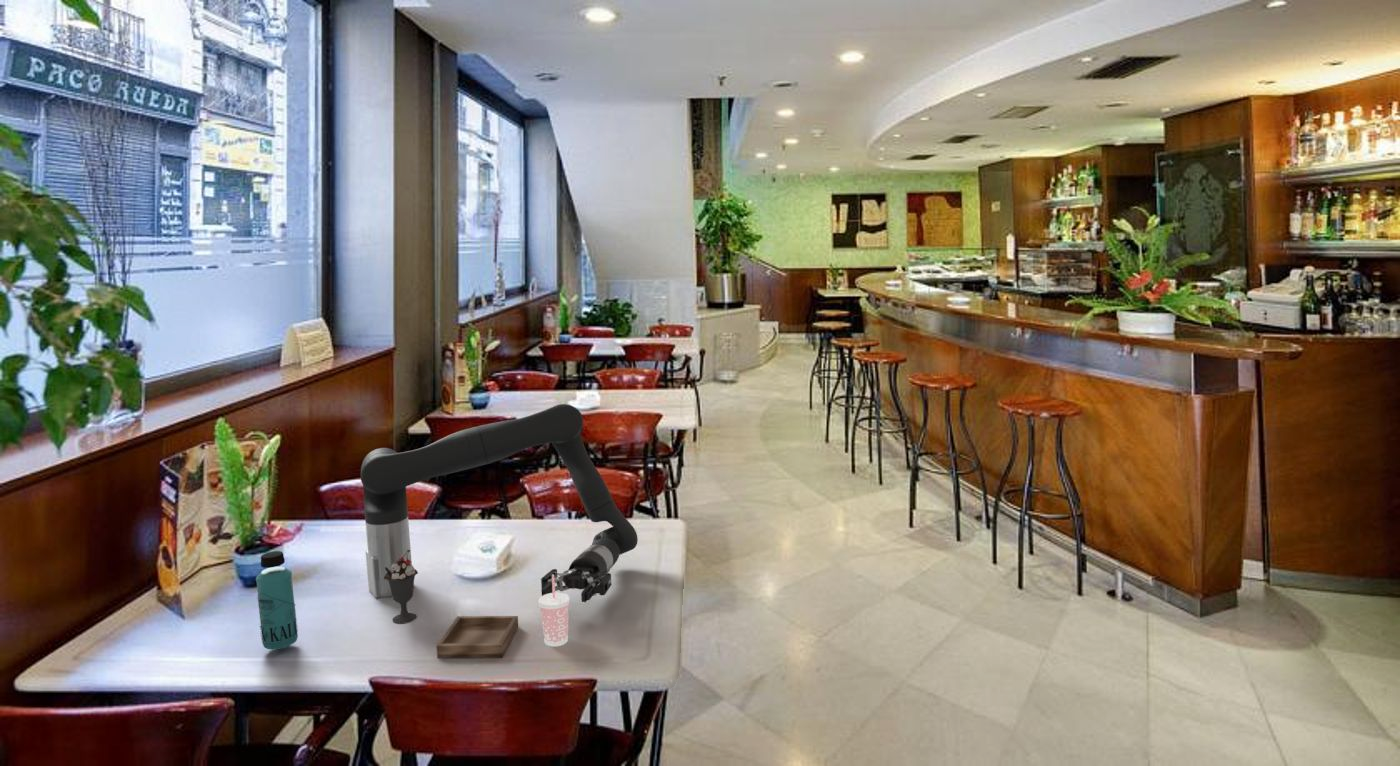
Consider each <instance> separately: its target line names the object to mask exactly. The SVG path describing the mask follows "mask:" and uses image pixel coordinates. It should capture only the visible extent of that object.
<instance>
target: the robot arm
mask: <svg viewBox="0 0 1400 766" xmlns="http://www.w3.org/2000/svg"><path fill="white" fill-rule="evenodd" d="M583 425H584V417H583V415H582V413H581V411H580V410H579V409H578V408H577V407H576V406H574V405H571V404H567V403H559V404H557V405H553V406H551V407H549V408H546V409H544V410H542V411H540V412H539V411H538V412H535V413H533V414H530V415H528V416H527V415H526V416H524V417H520V418H515V419H508V420H503V421H497V422H492V423H491V422H490V423H486V424H482V425H478V426H473V427H470V428H469V427H468V428H466V429H463V430H462V429H461V430H458V431H455V432H454V433H451V434H449V435H447V436H445V437H443V438H440V439H437V440H436V441H434V442H433V443H430V444H428V445H426V446H423V447H420V448H417V449H413V450H408V451H404V452H397V451H395V449H392V448H389V447H380V448H376V449H374V450H371V451H370V452H368V453H367V454H366V456H365V457H364V459H363V461H362V463H361V466H360V467H361V468H360V481H361V484H362V489H363V490H362V491H363V507H364V508H363V509H364V510H363V511H364V521H365V532H366V543H367V544H366V545H367V550H365V560H366V561H365V562H366V573H367V582H368V591H369V592H370V594H372V595H373V596H374V598H377V599H378V598H382V597H383V598H384V597H386V598H387V597H392V593H391V588H390V584H389V581H388V580H386V579H384V576H385V574H386V573H388V572H387V571H386V569H385V567H387V568H388V569H389V570H390V571H391V567H392V565H393V564H394V563H395V562H397V561H398V560H399V558H402V557H403V556H404V555H405V554H406V555H405V556H404V557H403V558H404V561H406V560H407V557H408V560H410V561H411V563H410V565H412V566H413V563H412V551H411V550H412V549H411V548H412V547H411V539H410V538H411V537H410V536H411V535H410V525H409V524H410V521H409V512H408V509H409V508H408V496H407V487H409V486H412V485H414V484H416V483H419V482H422V481H425V480H429V479H431V478H435V477H439V476H441V477H442V476H445V475H450V474H453V473H457V472H461V471H465V470H469V469H473V468H474V469H475V468H478V467H481V466H485V465H489V464H492V463H495V462H498V461H501V460H503V459H506V458H508V457H510V456H513V455H515V454H517V453H519V452H522V451H523V450H526V449H529V448H533V447H536V446H541V445H547V444H552V445H553V447H554V449H555V450H556V452H557V454H558V455H559V457H560V458H561V461H562V462H563V463H564V465H565V467H566V470H567V471H568V473H569V476H570V478H571V480H572V482H573V484H574V488H575V489H576V492H577V493H578V496H579V498H580V500H581V503H582V505H583V507H584V510H585V512H586V515H587V516H588V518H589V519H590V521H591V522H592V523H600V522H607V523H609V524H610V525H611V527H609V528H606V529H604V530H602V531H600V532H598V533H596V535H595V536H594V538H593V539H592V544H591V545H590V546H589V547H587V548H585V549H584V550H583V551H582V552H580V554H578V556H577V557H576V558H575V559H573V560H572V562H571V563H570V565H569V567H568V569H567V570H565V571H563V572H558V569H556V568H553V569H551V570H550V571H548V572H547V573H546V574H545V575H543V576H542V577H541V578H540V581H541V582H540V583H541V584H540V585H541V589H540V590H541V596H543V595H545V594H549V593H553V591H552V574H554V582H555V584H556V586H555V592H557V591H559V592H564V591H567V590H574V589H576V590H582V591H581V594H580V595H581V597H580V598H581V603H586V602H587V601H589V600H591V598H592V597H594V596H596V595H597V594H599V596H605V595H606V594H607V593H608V591H609V589H610V587H611V586H612V573H610V570H611V569H612V568H613V567H614V565H615V564H616V563H617V562H618V560H619V557H620V556H621V555H623V554H625V553H628V552H631V551H632V550H634V549H635V548H636V547H637V545H638V540H639V539H638V538H639V537H638V534H637V531H636V529H635V528H634V526H633V525H632V524H631V523H630V522H629V520H628V519H627V518H626V517H625V515H624V514H623V513H622V512H621V510H620V509H619V508H618V507H617V505H616V504H615V502H614V499H613V496H612V494H611V493H610V491H609V488H608V486H607V484H606V483H605V480H604V479H603V476H602V475H601V474H600V473H599V471H598V469H597V467H596V466H595V465H594V463H593V461H592V460H591V458H590V456H589V453H588V452H587V449H586V446H585V445H584V442H583V438H582V434H581V432H582V430H583ZM407 550H410V552H409V553H408V552H407ZM406 552H407V553H406ZM407 554H408V556H407Z"/></svg>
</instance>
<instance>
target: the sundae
mask: <svg viewBox="0 0 1400 766" xmlns="http://www.w3.org/2000/svg"><path fill="white" fill-rule="evenodd" d="M407 552H408V553H409V552H410V550H407ZM407 552H406V553H407ZM405 555H406V554H405ZM405 555H404V556H405ZM404 556H403V557H404ZM407 556H408V554H407ZM403 557H402V558H399V560H398V561H397V562H395V563H394V564H393V565H392V567H391V571H390V570H389V569H388V568H387V567H385V569H386V571H387V572H388V573H386V574H385V576H384V579H386V580H388V581H389V584H390V588H391V593H392V596H391V597H392V599H393V601H395V603H397V604H399V605H400V613H398V614H397V615H395V616H394V617H392V620H391V621H392V622H393V623H395V624H407V623H410V622H413V621H415V620H416V619H417V617H418V616H417V614H416V613H415V612H414V613H413V612H409V610H408V606H407V604H408V602H409V601H411V599H412V598H413V596H414V590H415V589H414V585H415V584H414V583H415V578H416V577H415V576H416V575H418V573H419V572H418V571H417V569H416V568H415V567H414V565H413V564H412V565H410V563H411V561H410V560H408V557H407V560H406V561H404V558H403Z"/></svg>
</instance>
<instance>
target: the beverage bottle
mask: <svg viewBox="0 0 1400 766" xmlns="http://www.w3.org/2000/svg"><path fill="white" fill-rule="evenodd" d="M283 564H285V556H284V552H283V551H279V550H275V551H267V552H265V553H263V554H261V556H260V566H261V568H263V570H262V571H260V573H258V575H257V576H256V577H255V581H256V588H257V603H258V613H259V616H258V617H259V621H260V622H259V624H260V625H259V628H260V633H261V634H260V638H261V642H262V643H261V644H262V645H263V648H264V649H267V650H279V649H284V648H287V647H289V646H292V645H293V644H295V643H296V642H297V641H298V637H299V634H298V629H299V628H298V623H297V620H298V619H297V614H296V613H297V612H296V603H295V597H294V586H293V572H292V571H291V570H290V569H288V568H286V567H285V566H281V565H283ZM264 568H265V569H264Z"/></svg>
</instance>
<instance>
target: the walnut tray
mask: <svg viewBox="0 0 1400 766" xmlns="http://www.w3.org/2000/svg"><path fill="white" fill-rule="evenodd" d="M518 629H519V616H518V615H480V616H479V615H468V616H467V615H465V616H464V615H461V616H460V615H459V616H457V617H456V618H455V620H454V621H453V622H452V623H451V625H450V626H449V628H448V629H447V630H446V632H445V634H444V635H443V636H442V637H441V639H440V640H439V642H438V643H437V644H436V655H437V659H502V658H503V657H504V655H505V654H506V652H507V650H508V648H509V646H510V645H511V643H512V641H513V639H514V637H515V635H516V633H517V631H518Z"/></svg>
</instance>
